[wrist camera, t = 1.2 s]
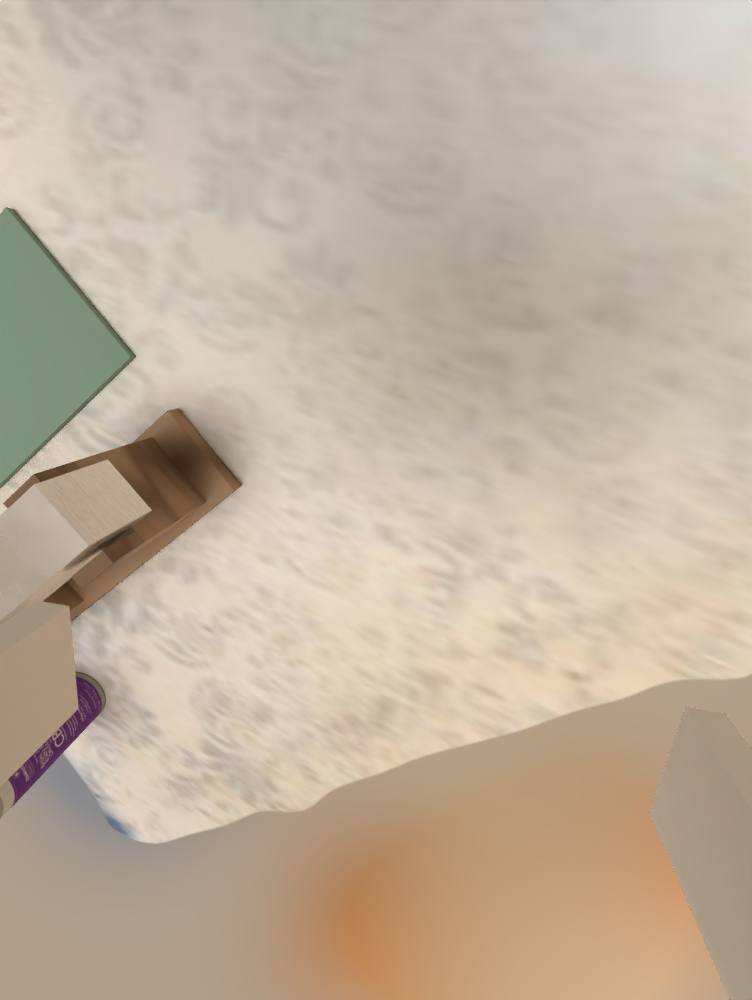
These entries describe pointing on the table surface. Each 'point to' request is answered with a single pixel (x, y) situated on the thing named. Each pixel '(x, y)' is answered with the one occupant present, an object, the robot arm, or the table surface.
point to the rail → (61, 531)
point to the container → (55, 742)
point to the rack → (147, 502)
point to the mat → (45, 347)
